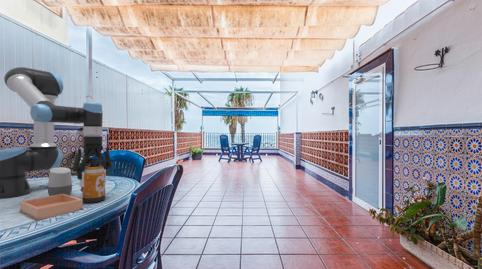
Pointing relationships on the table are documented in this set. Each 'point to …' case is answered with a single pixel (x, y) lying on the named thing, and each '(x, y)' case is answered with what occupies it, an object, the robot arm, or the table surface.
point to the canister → (93, 181)
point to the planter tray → (50, 206)
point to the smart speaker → (59, 181)
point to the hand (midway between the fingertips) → (93, 184)
